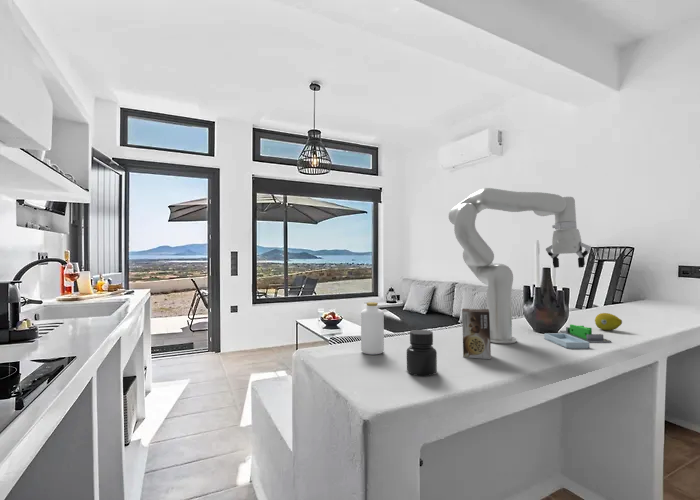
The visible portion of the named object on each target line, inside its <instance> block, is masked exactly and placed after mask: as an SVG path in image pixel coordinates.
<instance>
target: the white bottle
mask: <svg viewBox="0 0 700 500" xmlns="http://www.w3.org/2000/svg"><path fill="white" fill-rule="evenodd" d="M365 307H366V308H364V309H362V310H361V312H360V349H361V350H360V351H361V353H363V354H365V355H374V356H376V355H380V354H382V353H383V352H384V351H385V338H384V337H385V333H384V332H385V324H384V322H385V321H384V320H385V319H384V318H385V317H384V316H385V314H384V311H383V310H382V309H380V308H378V307H379V305H378V302H375V301H374V302H371V301H369V302H366V305H365Z"/></svg>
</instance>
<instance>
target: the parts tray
mask: <svg viewBox="0 0 700 500" xmlns="http://www.w3.org/2000/svg"><path fill="white" fill-rule="evenodd" d="M543 335H544V336H543V337H544V338H543V339H544V340H547V341H548V342H551V343H553V344H556V345H558V346H559V347H563V348H565V349H590V347H591V346H590V343H589V342H587V341H584V340H582V339H579V338H576V337H573V336H571V335H568V334H565V333H561V332H559V333H557V332H556V333H553V332H552V333H550V332H548V333H547V332H546V333H544V334H543Z"/></svg>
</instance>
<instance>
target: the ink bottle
mask: <svg viewBox="0 0 700 500" xmlns="http://www.w3.org/2000/svg"><path fill="white" fill-rule="evenodd" d="M409 341H410V342H409V344H410V346H409V347H408V348H407V349H406V371H407V372H408V373H409V374H411V375H414V376H418V377H429V376H433V375H436V373H438V356H437V355H438V353H437V350H436V348H434V346H433V344H434V333H433V331H431V330H427V329H412V330H410V331H409Z"/></svg>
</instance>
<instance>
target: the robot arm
mask: <svg viewBox="0 0 700 500" xmlns="http://www.w3.org/2000/svg"><path fill="white" fill-rule="evenodd" d="M575 199H576V198H575V197H573V196H561V195H559V194H555V193H548V192H537V191H532V192H531V191H513V190H507V189H499V188H493V187H484V188H481V189H478V190H477V191H475V192H473V193H472V194H470V195H469V196H467V198H465V199H463V200H462V201H461V202H458V204H457V205H455V206H454V207H452V208H451V209H450V211H449V212H448V219H449V220H448V221H449V222H450V223H451V224H452V225H454V226H453V227H454V229H453V230H454V235H455V239H456V240H457V242H458V243H459V245H460V246H461V247H462V249H463V250H462V251H463V252H462V258H463V262H464V263H465V265H466V266H467V267H468V268H469V270H470V271H471V272H472V273H473V274H474V276H475V277H476V278H477V279H478V280H479V281H480V282H481V283H482V284H483V285H486V286H487V290H486V297H485V298H486V309H489V312H490V343H492V344H503V345H504V344H505V345H508V344H514V343H517V338H516V337H515V336H513V321H512V319H513V315H512V311H513V310H512V289H513V283H514V274H513V270H512V269H511V268H510V267H509V266H507V265H506V264H503V263H494V259H495V254H494V253H495V252H494V251H493V249H492V248H491V246H489V245H488V243H487V242H486V241H485V240H484V239H483V237H482V236H481V235H480V234H479V232H478V230H477V228H476V220H477V215H478V214H479V213H481V212H482V211H483V210H488V209H489V210H494V211H503V212H508V213H520V212H530V211H531V212H533V213H534V214H535V215H537V216H540V217H548V216H552V215H553V216H554V221H555V223H554V224H553V225H552V226H551V227H552V229H555V230H553V233H552V239H551V240H552V242H551V245H549V246H548V247H546V248H545V251H546V253H547V254H548V256H549V257H550V258H551V259H552V265H553V268H554V269H555V268H560V259H559V256H560V255H563V254H567V255H568V254H576V255H577V256H578V258H577V263H578V264H577V265H578V268H584V267H585V264H586V263H585V258H586V256H587V255H588V254H590V251H591V249H592V246H591V245H588V244H586V243H584V242H583V241H582V236H581V234H580V233H581V232H580V229H579V228H577V227H578V226H577V214H576V200H575ZM583 248H584V249H585V250H583Z"/></svg>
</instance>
